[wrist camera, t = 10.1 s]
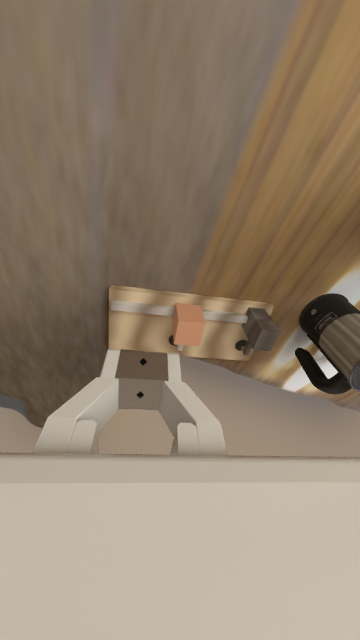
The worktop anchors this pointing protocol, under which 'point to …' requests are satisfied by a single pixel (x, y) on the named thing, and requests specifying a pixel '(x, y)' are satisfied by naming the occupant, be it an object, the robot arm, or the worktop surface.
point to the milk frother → (332, 342)
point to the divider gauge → (219, 333)
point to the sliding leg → (187, 325)
